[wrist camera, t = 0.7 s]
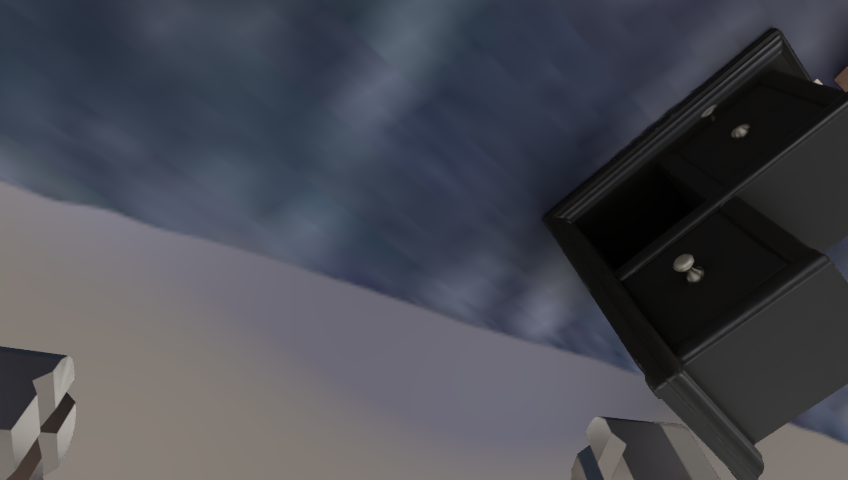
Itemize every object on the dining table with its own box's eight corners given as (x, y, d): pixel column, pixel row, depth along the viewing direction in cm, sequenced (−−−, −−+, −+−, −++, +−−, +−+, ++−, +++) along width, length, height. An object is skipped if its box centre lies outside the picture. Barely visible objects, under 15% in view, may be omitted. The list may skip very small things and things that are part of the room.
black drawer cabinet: (773, 23, 49) (1076, 95, 28) (833, 122, 53) (1137, 249, 32) (538, 216, 55) (644, 395, 34) (608, 292, 59) (742, 495, 38)
